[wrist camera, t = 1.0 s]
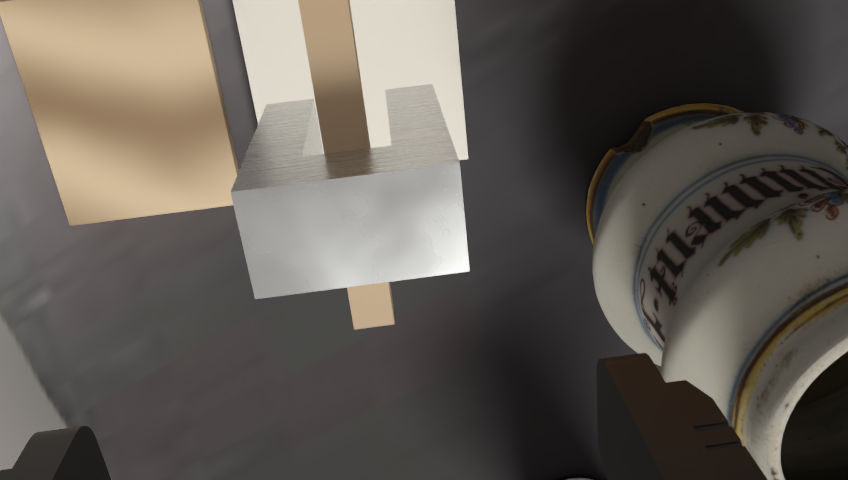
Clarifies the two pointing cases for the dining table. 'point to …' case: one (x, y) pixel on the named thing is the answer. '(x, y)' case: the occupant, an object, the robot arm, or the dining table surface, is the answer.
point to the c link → (350, 201)
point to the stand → (354, 78)
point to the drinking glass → (579, 479)
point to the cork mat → (125, 104)
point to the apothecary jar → (735, 272)
